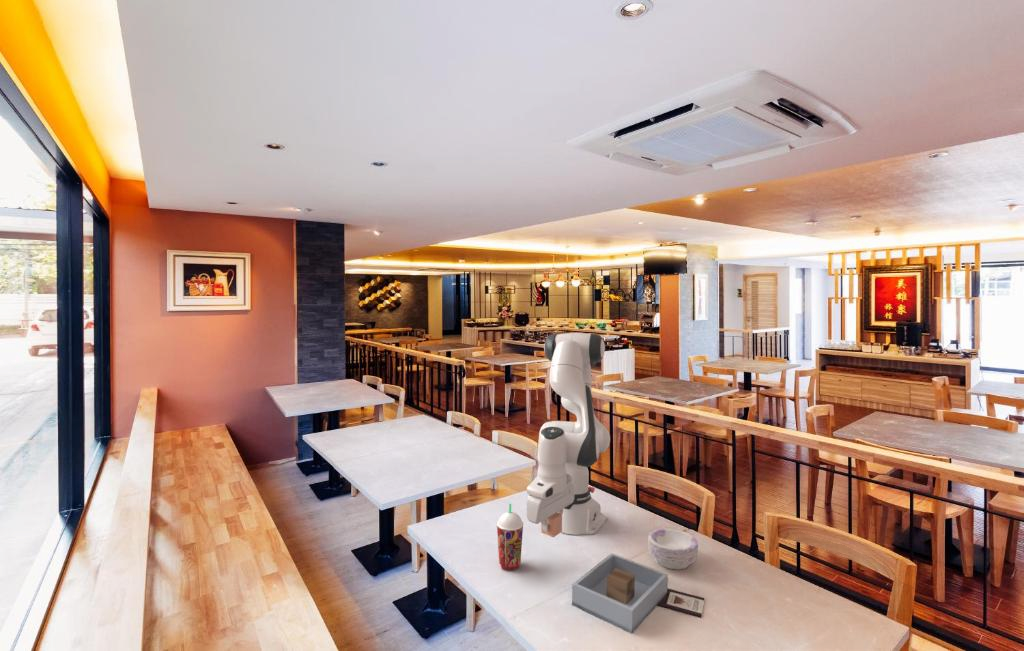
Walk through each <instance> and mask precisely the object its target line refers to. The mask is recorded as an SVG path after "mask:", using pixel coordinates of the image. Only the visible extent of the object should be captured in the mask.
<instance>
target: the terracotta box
mask: <svg viewBox="0 0 1024 651" xmlns="http://www.w3.org/2000/svg"><path fill="white" fill-rule="evenodd" d="M547 523H548V524H550V529H549V530H548V531H544V530H542V524H541V523H540V524H541V525H540V529H541V531H540V532H541V533H542V534H544V535H546V536H549V537H551V538H555V537H556V536H558V535H559V534H561V533H562V514H560V513H557V512H556V513H555V514H553V515H552V516H550V517H548V520H547ZM541 533H540V534H541Z"/></svg>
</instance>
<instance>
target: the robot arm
mask: <svg viewBox="0 0 1024 651" xmlns="http://www.w3.org/2000/svg"><path fill="white" fill-rule="evenodd" d="M543 349H544V350H543V351H544V355H545V358H546V359H547V360H548V361H550V362H551V363H550V368H549V384H550V387H551V389H552V390H553V391H554V392H555V393H556V394H557V395H559V396H560V403H561V406H562V407H563V408H564V409H565V410H567V411H568V412H570V413H572V414H573V415H574V416H575V417H576V421H568V420H567V421H566V420H565V421H563V420H552V421H546V422H544V423H543V424H542V426H540V429H539V432H538V441H537V445H536V446H537V452H536V453H537V454H536V455H537V462H538V468H537V472H536V473H537V475H536V476H535V478H534V479H533V480H532V482H530V484H528V486H527V487H526V494H527V495H528V497H527V500H526V518H527V521H528V522H529V523H530V522H531V523H532V524H535V525H539V524H542V530H544V531H548V530H549V529H550V524H548V523H547V520H548V517H550V516H552V515H553V514H555V513H556V512H557V513H560V514H562V532H561V533H563V534H566V535H567V534H568V535H572V536H573V535H575V536H578V535H595V534H596V533H597V532H598V531H599V530H600V529H601V527H602V526H603V525H604V523H605V522H606V521H607V519H608V516H606V514H604V513H603V512H601V511H602V509H601V505H600V503H599V502H598V501H597V500H595V499H594V498H593V497H592V494H594V492H595V491H596V490H595V489H596V488H595V487H594V486H590V485H589V475H590V474H589V473H590V472H589V469H588V468H589V467H592V466H593V465H594V464H596V462H597V461H598V460H599V457H600V454H601V453H604V452H606V450H608V448H609V447H610V446H609V445H610V443H611V435H610V433H609V430H608V429H607V428H606V426H605V425H603V424H602V423H601V421H600V420H598V418H597V417H596V415H595V410H594V402H593V394H592V381H593V380H592V368H593V367H595V365H596V364H598V363H599V362H600V361H601V360H603V357H604V355H605V352H606V344H605V342H604V339H603V337H602V336H601V335H600V334H598V333H593V332H592V333H585V332H566V333H552V334H549V335H548V336H547V337H546V338H545V341H544V344H543ZM591 367H592V368H591ZM591 493H592V494H591Z"/></svg>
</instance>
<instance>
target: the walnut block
mask: <svg viewBox="0 0 1024 651" xmlns="http://www.w3.org/2000/svg"><path fill="white" fill-rule="evenodd" d="M634 591H635V576H634V575H632V574H629V573H627V572H624V571H622V570H619V569H617V568H615V569H614V570H613V571H612V572H610V573H609V574H608V575H607V596H608V597H610V598H612V599H615V600H617V601H619V602H621V603H624V604H627V603H628V602H629V601H630V600H631V599H632V598H633V597H634Z"/></svg>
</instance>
